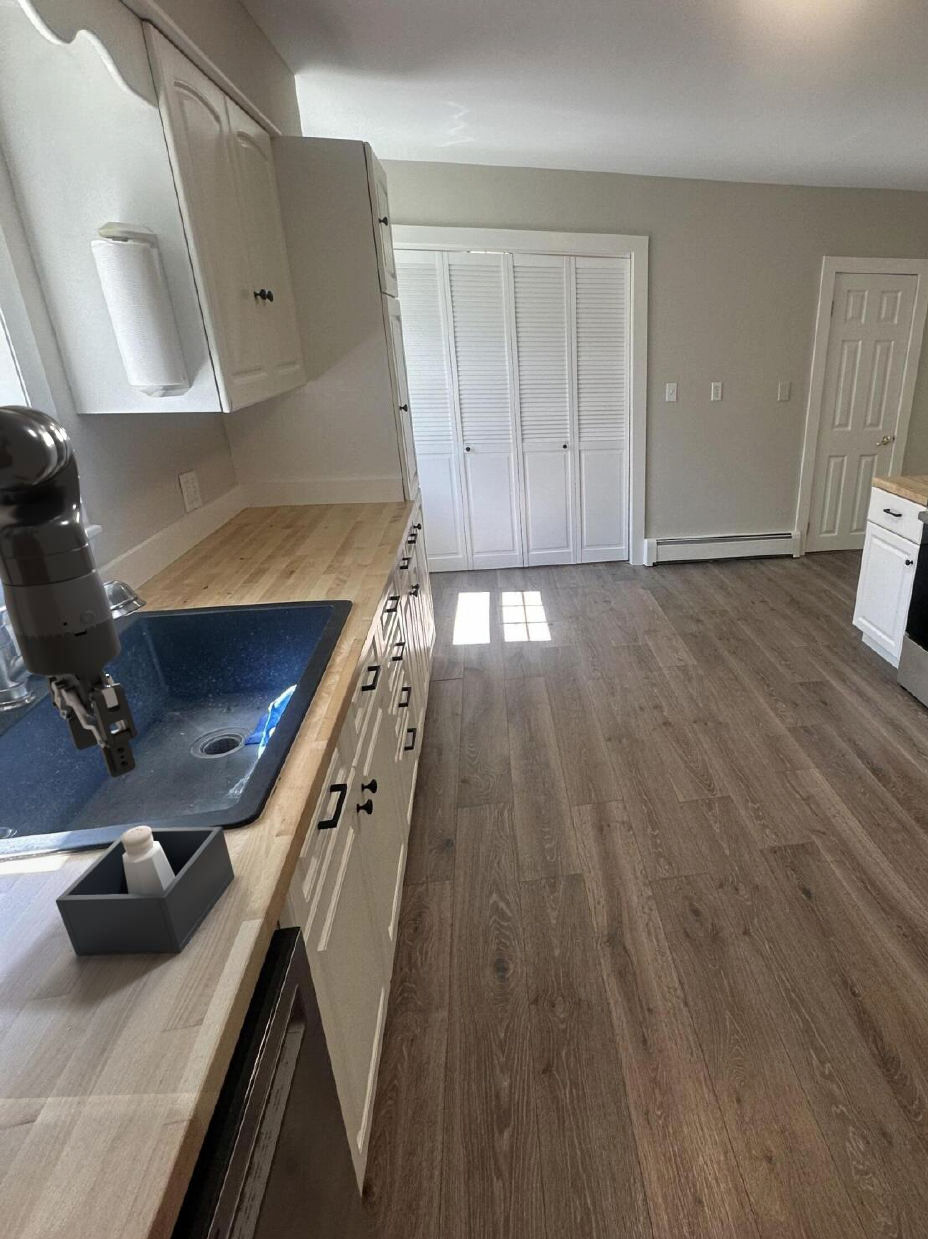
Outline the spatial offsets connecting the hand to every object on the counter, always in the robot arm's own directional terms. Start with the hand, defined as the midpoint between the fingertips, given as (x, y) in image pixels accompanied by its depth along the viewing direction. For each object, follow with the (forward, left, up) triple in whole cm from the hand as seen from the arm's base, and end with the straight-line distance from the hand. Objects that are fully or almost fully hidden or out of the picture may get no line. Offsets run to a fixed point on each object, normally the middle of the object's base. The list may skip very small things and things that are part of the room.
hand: (105, 758), depth 70 cm
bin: (0, +1, -22) cm, 22 cm away
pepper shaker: (0, 0, -21) cm, 21 cm away
